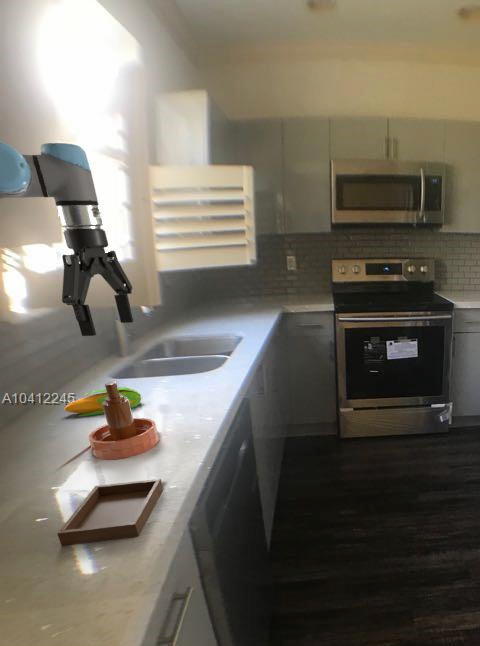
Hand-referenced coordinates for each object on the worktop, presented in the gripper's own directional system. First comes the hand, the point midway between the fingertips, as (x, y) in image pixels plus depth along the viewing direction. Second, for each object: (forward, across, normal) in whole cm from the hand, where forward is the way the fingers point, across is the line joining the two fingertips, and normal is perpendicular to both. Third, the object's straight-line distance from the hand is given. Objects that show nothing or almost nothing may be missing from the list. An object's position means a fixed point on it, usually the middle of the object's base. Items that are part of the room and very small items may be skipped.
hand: (109, 328), depth 103 cm
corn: (+30, +22, +23) cm, 44 cm away
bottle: (+29, 0, +3) cm, 30 cm away
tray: (+30, -28, -12) cm, 43 cm away
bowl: (+30, 0, +3) cm, 30 cm away
